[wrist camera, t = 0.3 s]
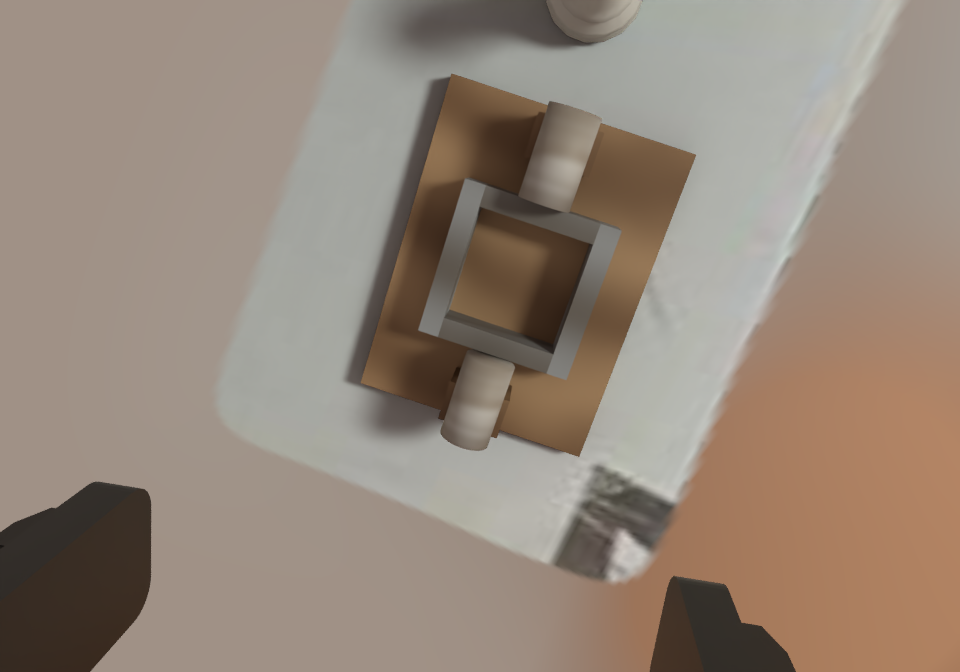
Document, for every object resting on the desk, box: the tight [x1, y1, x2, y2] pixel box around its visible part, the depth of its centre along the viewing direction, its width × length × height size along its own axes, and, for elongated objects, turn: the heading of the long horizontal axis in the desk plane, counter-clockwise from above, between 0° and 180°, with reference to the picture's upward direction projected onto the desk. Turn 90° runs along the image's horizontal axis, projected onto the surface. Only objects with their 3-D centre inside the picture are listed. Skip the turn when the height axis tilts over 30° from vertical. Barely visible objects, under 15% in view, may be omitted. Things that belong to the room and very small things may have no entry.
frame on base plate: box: [361, 74, 696, 457], centre depth 35 cm, size 16×12×5 cm
